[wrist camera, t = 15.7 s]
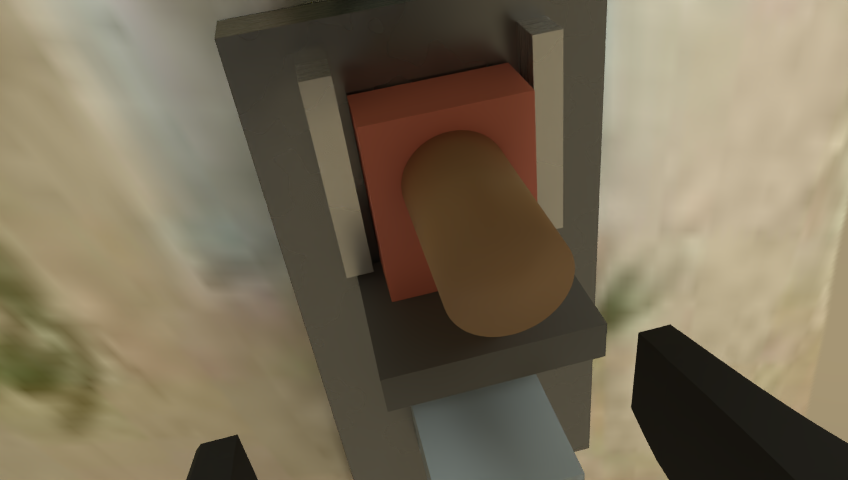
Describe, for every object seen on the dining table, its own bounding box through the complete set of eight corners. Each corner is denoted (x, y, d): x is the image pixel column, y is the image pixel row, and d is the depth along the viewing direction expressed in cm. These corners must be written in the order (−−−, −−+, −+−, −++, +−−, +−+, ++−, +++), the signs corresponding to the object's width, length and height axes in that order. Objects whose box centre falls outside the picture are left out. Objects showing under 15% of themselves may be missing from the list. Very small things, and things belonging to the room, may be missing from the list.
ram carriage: (541, 254, 21) (633, 400, 16) (362, 296, 21) (398, 463, 16) (536, 56, 18) (656, 167, 12) (316, 101, 17) (344, 238, 12)
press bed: (574, 420, 30) (600, 470, 27) (358, 478, 28) (367, 535, 26) (584, -48, 18) (630, -26, 16) (217, 20, 17) (212, 55, 15)
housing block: (525, 421, 26) (597, 586, 21) (419, 449, 26) (465, 626, 20) (521, 343, 24) (602, 509, 18) (403, 374, 23) (450, 553, 18)
